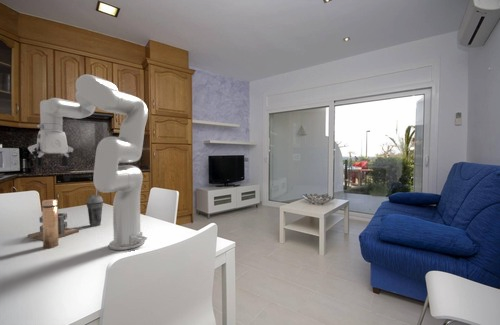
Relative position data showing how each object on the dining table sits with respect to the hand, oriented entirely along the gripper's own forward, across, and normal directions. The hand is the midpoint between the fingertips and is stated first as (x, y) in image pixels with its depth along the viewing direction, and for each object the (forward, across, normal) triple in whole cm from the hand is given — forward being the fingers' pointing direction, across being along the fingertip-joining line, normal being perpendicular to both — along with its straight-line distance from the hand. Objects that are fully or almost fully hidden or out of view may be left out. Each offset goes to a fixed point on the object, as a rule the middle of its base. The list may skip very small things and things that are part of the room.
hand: (52, 166), depth 104 cm
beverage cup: (+31, +14, -7) cm, 35 cm away
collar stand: (+31, -2, -3) cm, 31 cm away
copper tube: (+31, -10, -17) cm, 37 cm away
